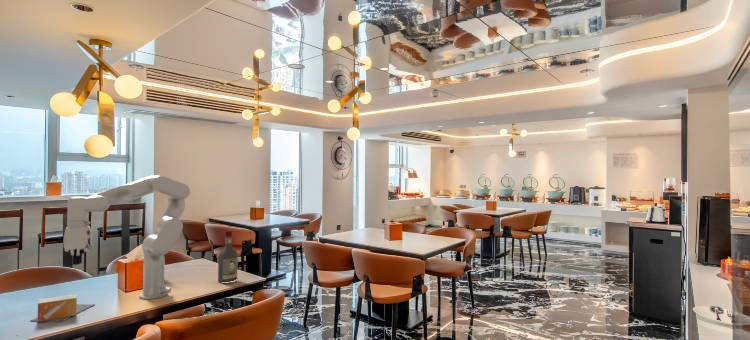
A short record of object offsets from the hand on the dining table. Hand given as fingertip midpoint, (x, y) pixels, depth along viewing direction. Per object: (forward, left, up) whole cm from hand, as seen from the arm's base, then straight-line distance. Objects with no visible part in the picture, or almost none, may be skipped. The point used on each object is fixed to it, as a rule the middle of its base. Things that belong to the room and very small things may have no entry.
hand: (77, 264), depth 172 cm
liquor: (-50, -51, -22) cm, 75 cm away
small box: (-2, +2, -18) cm, 18 cm away
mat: (+5, 0, -22) cm, 23 cm away
